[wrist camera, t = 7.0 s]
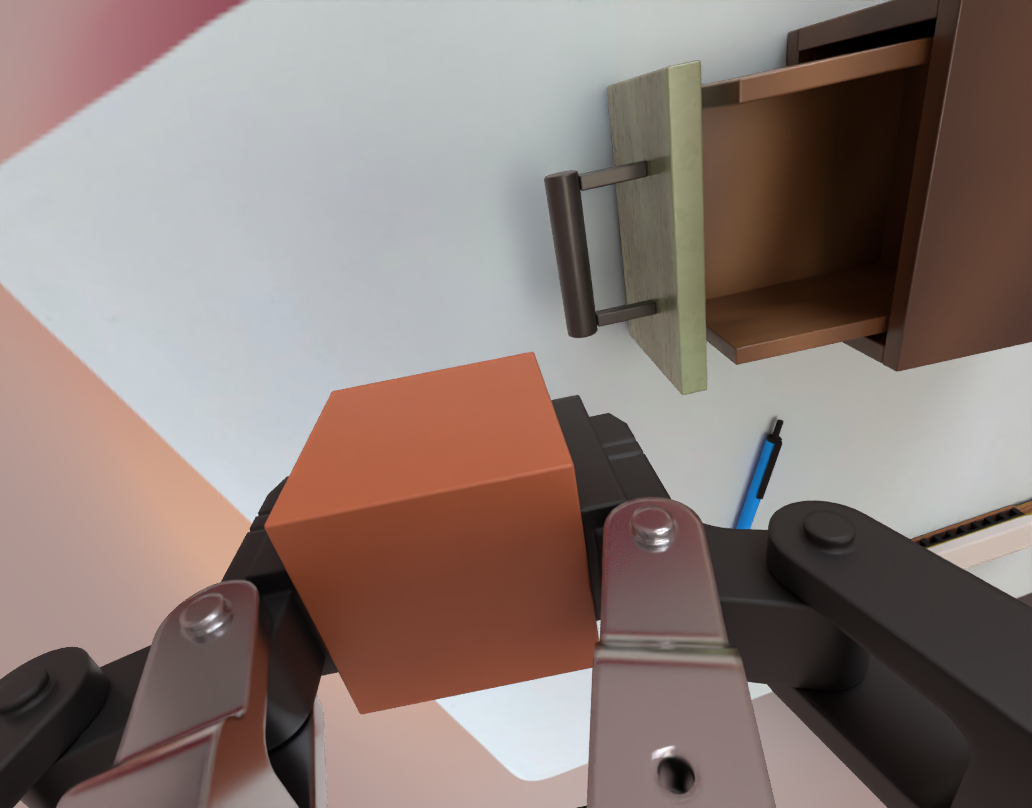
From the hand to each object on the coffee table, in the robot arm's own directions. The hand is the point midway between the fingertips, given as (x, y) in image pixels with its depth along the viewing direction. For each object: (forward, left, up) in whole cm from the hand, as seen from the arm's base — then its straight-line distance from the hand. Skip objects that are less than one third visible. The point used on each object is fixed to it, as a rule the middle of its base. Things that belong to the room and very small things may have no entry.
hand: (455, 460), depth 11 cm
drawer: (0, +14, -19) cm, 23 cm away
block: (0, 0, 0) cm, 0 cm away
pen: (+24, +16, -20) cm, 35 cm away
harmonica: (+30, +33, -20) cm, 49 cm away
